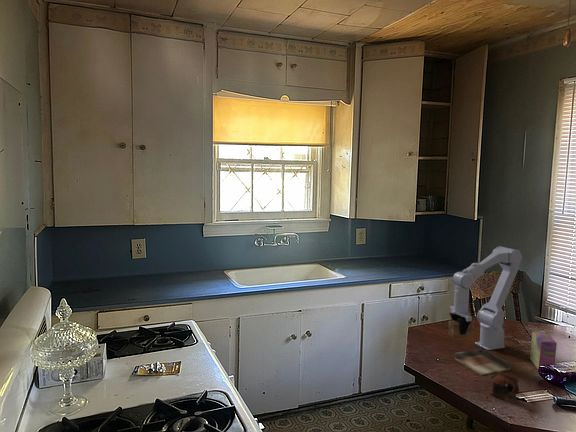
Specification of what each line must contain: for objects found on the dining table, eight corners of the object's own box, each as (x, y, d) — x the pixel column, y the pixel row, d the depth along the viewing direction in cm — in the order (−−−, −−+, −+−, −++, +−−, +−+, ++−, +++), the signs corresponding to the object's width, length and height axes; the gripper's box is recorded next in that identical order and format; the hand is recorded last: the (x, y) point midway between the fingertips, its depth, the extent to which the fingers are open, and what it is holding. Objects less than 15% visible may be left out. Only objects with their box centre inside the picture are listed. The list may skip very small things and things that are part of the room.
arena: (481, 354, 189) (482, 348, 189) (510, 369, 175) (510, 363, 175) (454, 358, 185) (454, 352, 184) (481, 375, 171) (481, 368, 170)
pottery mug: (481, 390, 160) (488, 368, 162) (503, 400, 162) (509, 378, 163) (504, 399, 149) (511, 374, 150) (528, 409, 150) (534, 385, 152)
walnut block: (448, 334, 193) (448, 320, 193) (465, 333, 194) (466, 319, 194) (453, 338, 189) (453, 324, 188) (471, 337, 190) (471, 323, 189)
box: (554, 372, 174) (557, 342, 172) (538, 370, 175) (540, 341, 173) (545, 360, 184) (547, 332, 182) (529, 359, 185) (531, 331, 183)
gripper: (444, 296, 196) (442, 326, 198) (460, 306, 182) (459, 339, 184) (459, 295, 197) (458, 325, 199) (477, 306, 183) (475, 338, 185)
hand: (459, 332), depth 191 cm, fingers closed on walnut block, 4 cm apart
